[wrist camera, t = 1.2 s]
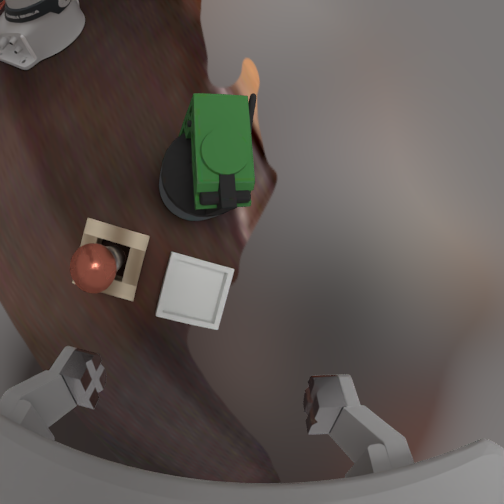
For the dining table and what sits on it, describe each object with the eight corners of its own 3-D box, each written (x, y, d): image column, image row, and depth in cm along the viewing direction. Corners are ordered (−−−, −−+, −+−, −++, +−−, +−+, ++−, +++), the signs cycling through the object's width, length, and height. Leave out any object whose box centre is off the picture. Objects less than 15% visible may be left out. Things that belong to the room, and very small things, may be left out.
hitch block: (80, 278, 38) (72, 283, 33) (94, 220, 38) (87, 217, 34) (134, 294, 41) (133, 301, 36) (149, 236, 42) (149, 236, 37)
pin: (96, 268, 39) (65, 285, 23) (103, 238, 39) (76, 237, 23) (124, 276, 40) (109, 299, 24) (131, 246, 41) (120, 251, 25)
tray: (155, 312, 42) (155, 316, 40) (170, 251, 43) (172, 251, 40) (214, 325, 45) (217, 330, 43) (230, 267, 46) (234, 269, 44)
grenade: (222, 138, 45) (272, 79, 26) (228, 219, 46) (286, 206, 27) (156, 139, 41) (166, 73, 22) (160, 225, 42) (168, 213, 23)
